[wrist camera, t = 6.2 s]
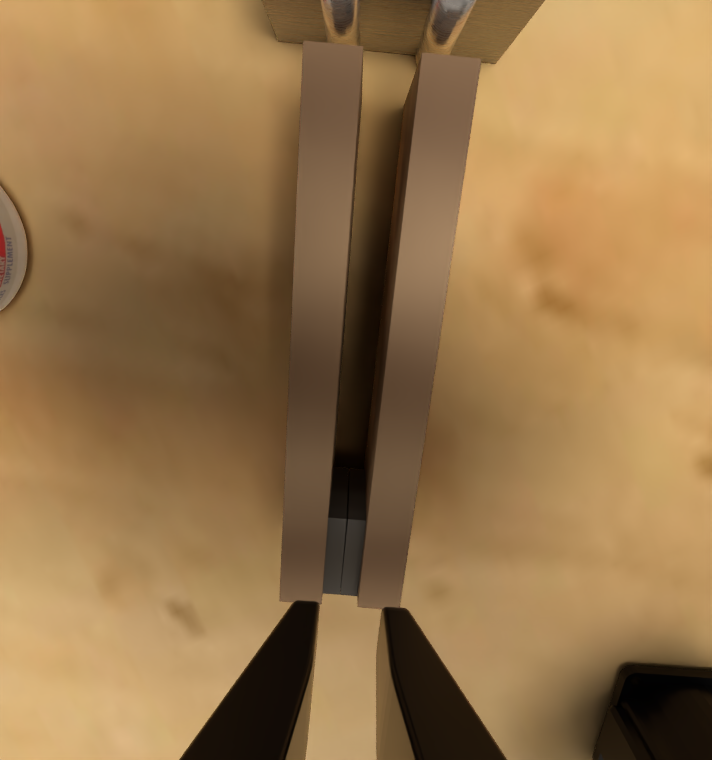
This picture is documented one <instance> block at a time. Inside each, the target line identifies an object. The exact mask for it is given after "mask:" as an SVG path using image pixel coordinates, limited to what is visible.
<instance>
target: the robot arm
mask: <svg viewBox="0 0 712 760" xmlns="http://www.w3.org/2000/svg"><path fill="white" fill-rule="evenodd" d="M319 608H320V606H319V603H318V602H316V601H304V600H297V601H295V602H294V603H293V604H292V605H291V606H290V608H289V609H288V610H287V612H286V613H285V615H284V616H283V617H282V619H281V620H280V621H279V623H278V624H277V626H276V627H275V628H274V630H273V631H272V632H271V634H270V635H269V637H268V638H267V639H266V641H265V642H264V643H263V645H262V646H261V648H260V649H259V650H258V652H257V653H256V655H255V656H254V657H253V659H252V660H251V661H250V663H249V664H248V666H247V667H246V668H245V670H244V671H243V672H242V674H241V675H240V677H239V678H238V679H237V681H236V682H235V683H234V685H233V686H232V688H231V689H230V690H229V692H228V693H227V695H226V696H225V697H224V699H223V700H222V701H221V703H220V704H219V706H218V707H217V708H216V710H215V711H214V712H213V714H212V715H211V717H210V718H209V719H208V721H207V722H206V723H205V725H204V726H203V728H202V729H201V730H200V732H199V733H198V734H197V736H196V737H195V739H194V740H193V741H192V743H191V744H190V746H189V747H188V748H187V750H186V751H185V752H184V754H183V755H182V757H181V758H180V759H179V760H305V757H306V749H307V740H308V729H309V719H310V709H311V698H312V688H313V677H314V667H315V656H316V645H317V633H318V621H319ZM376 750H377V760H507V759H506V757H505V756H504V754H503V753H502V751H501V750H500V748H499V747H498V745H497V743H496V742H495V740H494V739H493V737H492V736H491V734H490V733H489V731H488V730H487V728H486V727H485V725H484V724H483V722H482V721H481V719H480V718H479V716H478V715H477V713H476V712H475V710H474V709H473V707H472V706H471V704H470V703H469V701H468V700H467V698H466V697H465V695H464V694H463V692H462V691H461V689H460V687H459V686H458V684H457V683H456V681H455V680H454V678H453V677H452V675H451V674H450V672H449V671H448V669H447V668H446V666H445V665H444V663H443V662H442V660H441V659H440V657H439V656H438V654H437V653H436V651H435V650H434V648H433V647H432V645H431V644H430V642H429V641H428V639H427V638H426V636H425V635H424V633H423V632H422V630H421V628H420V627H419V625H418V624H417V622H416V621H415V619H414V618H413V616H412V615H411V613H410V612H409V611H408V610H407V609H406V608H398V607H384V608H383V610H382V612H381V619H380V627H379V635H378V642H377V653H376ZM593 760H712V671H705V670H691V669H678V668H664V667H651V666H637V665H630V666H627V667H625V668H623V669H622V671H621V672H620V675H619V678H618V681H617V684H616V687H615V690H614V693H613V696H612V699H611V702H610V705H609V708H608V711H607V714H606V717H605V720H604V723H603V726H602V729H601V732H600V735H599V738H598V741H597V744H596V747H595V750H594V753H593Z"/></svg>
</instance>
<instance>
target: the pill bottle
mask: <svg viewBox="0 0 712 760" xmlns="http://www.w3.org/2000/svg"><path fill="white" fill-rule="evenodd" d="M26 266H27V240H26V234H25V230H24V227H23V224H22V221H21V219H20V217H19V214H18V212H17V210H16V208H15V206H14V205H13V203H12V201H11V200H10V198H9V197H8V195H7V194H6V192H5V191H4V190H3V189H2V187H1V186H0V311H1V310H2V309H4V308H5V307H6V306H7V305H8V304H9V303H10V302H11V300H12V299H13V298H14V296H15V295H16V293H17V292H18V290H19V288H20V286H21V284H22V281H23V279H24V276H25V272H26Z"/></svg>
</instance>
